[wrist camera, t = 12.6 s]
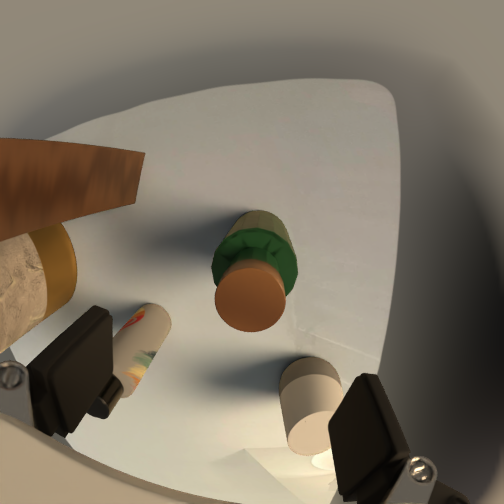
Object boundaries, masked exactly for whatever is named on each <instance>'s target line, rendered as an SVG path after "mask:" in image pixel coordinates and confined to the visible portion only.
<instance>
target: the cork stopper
mask: <svg viewBox="0 0 504 504" xmlns="http://www.w3.org/2000/svg"><path fill="white" fill-rule="evenodd" d="M285 303H286V297H285V290H284V284H283V280H282V278H281V276H280V274H279V273H278V271H277V270H276V269H275V268H274V267H272V266H271V265H270V264H268V263H266V262H264V261H260V260H256V259H246V260H242V261H239V262H236V263H234V264H233V265H231V266H230V267H229V268H228V269H227V270H226V271H225V272H224V274H223V276H222V278H221V280H220V282H219V284H218V286H217V289H216V292H215V306H216V309H217V312H218V314H219V315H220V317H221V318H222V319H223V320H224V321H225V322H226V323H227V324H228V325H229V326H231V327H233V328H235V329H237V330H240V331H244V332H258V331H262V330H265V329H267V328H269V327H271V326H272V325H274V324H275V323H276V322H277V321H278V320H279V319H280V317H281V316H282V314H283V312H284V309H285Z"/></svg>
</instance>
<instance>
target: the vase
mask: <svg viewBox="0 0 504 504" xmlns="http://www.w3.org/2000/svg"><path fill="white" fill-rule="evenodd" d="M76 282H77V264H76V257H75V253H74V249H73V246H72V243H71V240H70V238H69V236H68V234H67V232H66V230H65V228H64V227H63V225H62V224H61V223H57V224H54V225H51V226H47V227H44V228H41V229H38V230H34V231H31V232H28V233H25V234H22V235H19V236H16V237H13V238H10V239H7V240H4V241H2V242H0V354H1V353H2V352H3V351H4V350H6V349H7V348H8V347H9V346H11V345H12V344H13V343H14V342H16V341H17V340H18V339H19V338H21V337H22V336H23V335H25V334H26V333H27V332H28V331H30V330H31V329H32V328H34V327H35V326H36V325H38V324H39V323H40V322H42V321H43V320H44V319H46V318H47V317H48V316H50V315H51V314H53V313H54V312H55V311H57V310H58V309H59V308H61V307H62V306H64V305H65V304H66V303H67V302H68V301H69V300H70V299H71V297H72V296H73V293H74V291H75V287H76Z"/></svg>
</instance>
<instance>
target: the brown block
mask: <svg viewBox="0 0 504 504" xmlns="http://www.w3.org/2000/svg"><path fill="white" fill-rule="evenodd" d="M144 156H145V153H143V152H137V151H130V150H124V149H117V148H111V147H103V146H96V145H87V144H79V143H69V142H59V141H47V140H33V139H15V138H0V242H2V241H4V240H7V239H10V238H13V237H16V236H19V235H22V234H25V233H28V232H31V231H34V230H38V229H41V228H44V227H47V226H51V225H54V224H57V223H61V222H64V221H68V220H71V219H75V218H79V217H82V216H86V215H90V214H93V213H97V212H101V211H105V210H109V209H113V208H117V207H121V206H125V205H130V204H134V203H135V201H136V195H137V190H138V185H139V180H140V175H141V170H142V165H143V161H144Z"/></svg>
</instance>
